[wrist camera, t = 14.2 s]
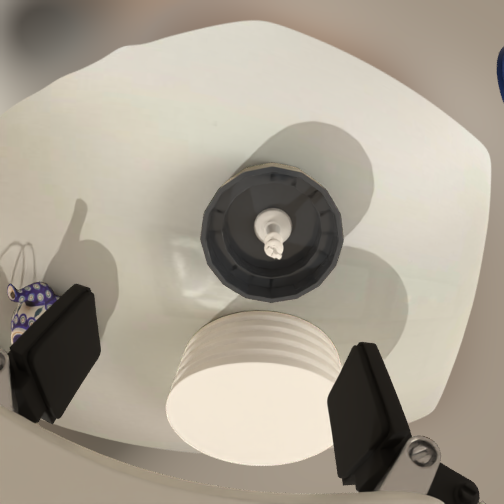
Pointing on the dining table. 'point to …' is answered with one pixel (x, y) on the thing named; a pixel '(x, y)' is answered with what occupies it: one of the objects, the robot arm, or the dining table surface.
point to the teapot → (29, 305)
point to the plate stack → (255, 389)
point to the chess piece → (273, 230)
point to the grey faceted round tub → (252, 249)
